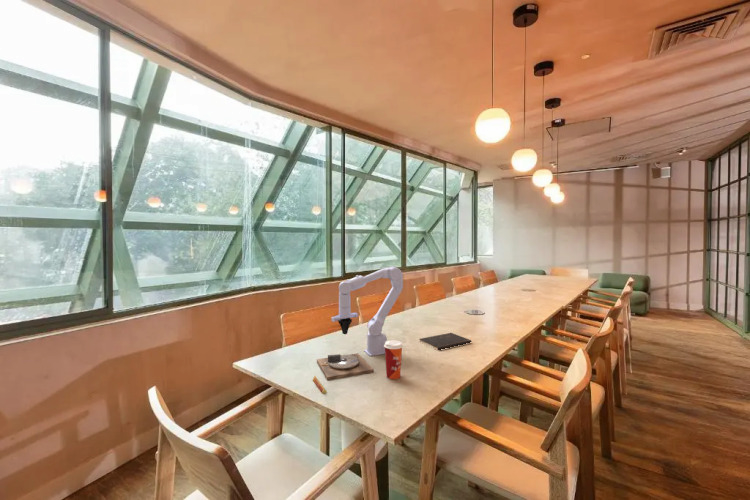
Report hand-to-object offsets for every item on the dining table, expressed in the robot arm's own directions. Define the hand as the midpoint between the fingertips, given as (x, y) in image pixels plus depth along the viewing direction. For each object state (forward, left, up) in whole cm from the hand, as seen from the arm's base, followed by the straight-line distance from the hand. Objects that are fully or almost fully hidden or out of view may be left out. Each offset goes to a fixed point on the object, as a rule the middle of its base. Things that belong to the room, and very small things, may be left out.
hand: (344, 333), depth 155 cm
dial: (+5, +15, -8) cm, 18 cm away
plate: (+5, +15, -10) cm, 19 cm away
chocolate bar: (+19, +29, -11) cm, 36 cm away
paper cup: (-11, +32, -10) cm, 35 cm away
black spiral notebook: (-55, +5, -11) cm, 56 cm away
